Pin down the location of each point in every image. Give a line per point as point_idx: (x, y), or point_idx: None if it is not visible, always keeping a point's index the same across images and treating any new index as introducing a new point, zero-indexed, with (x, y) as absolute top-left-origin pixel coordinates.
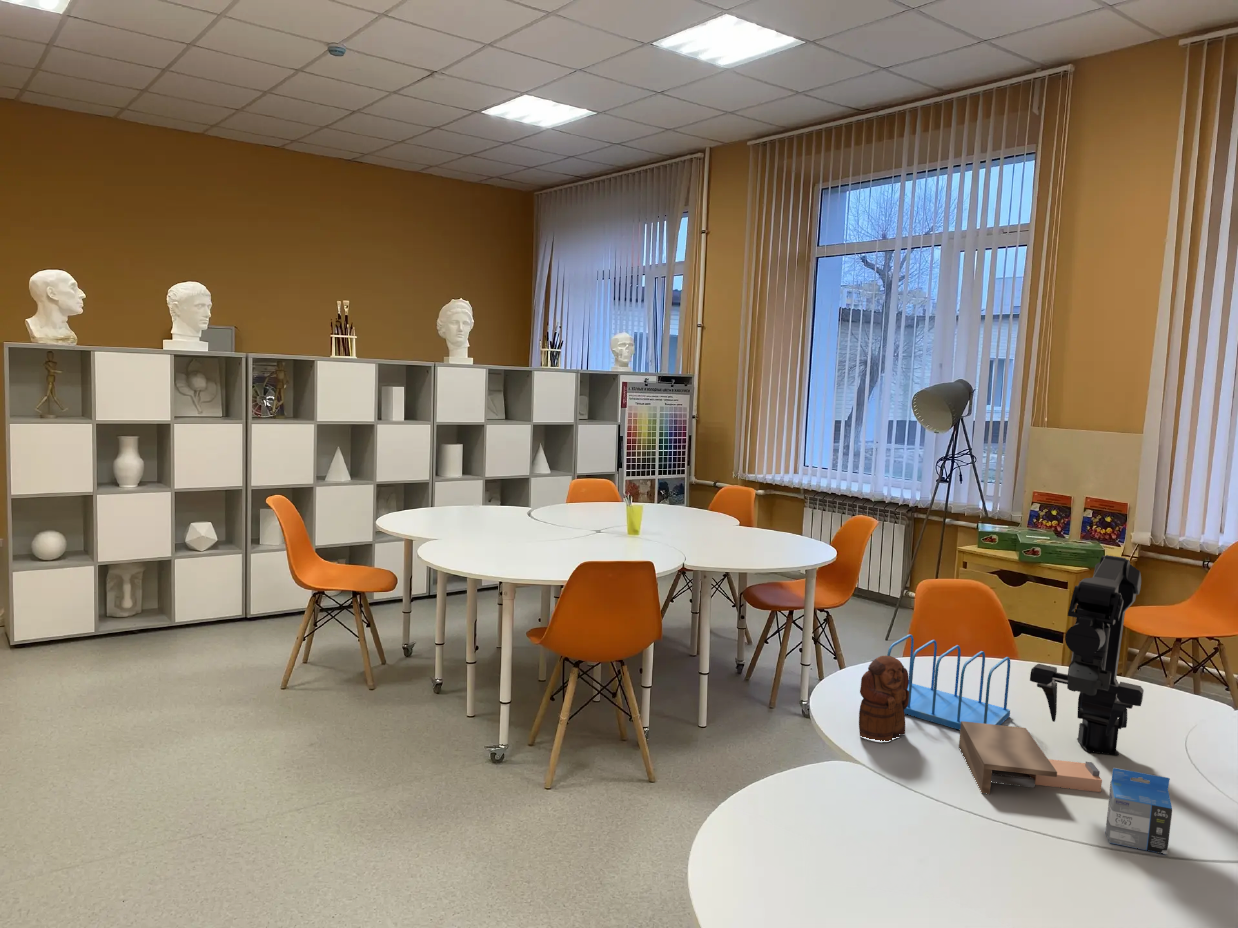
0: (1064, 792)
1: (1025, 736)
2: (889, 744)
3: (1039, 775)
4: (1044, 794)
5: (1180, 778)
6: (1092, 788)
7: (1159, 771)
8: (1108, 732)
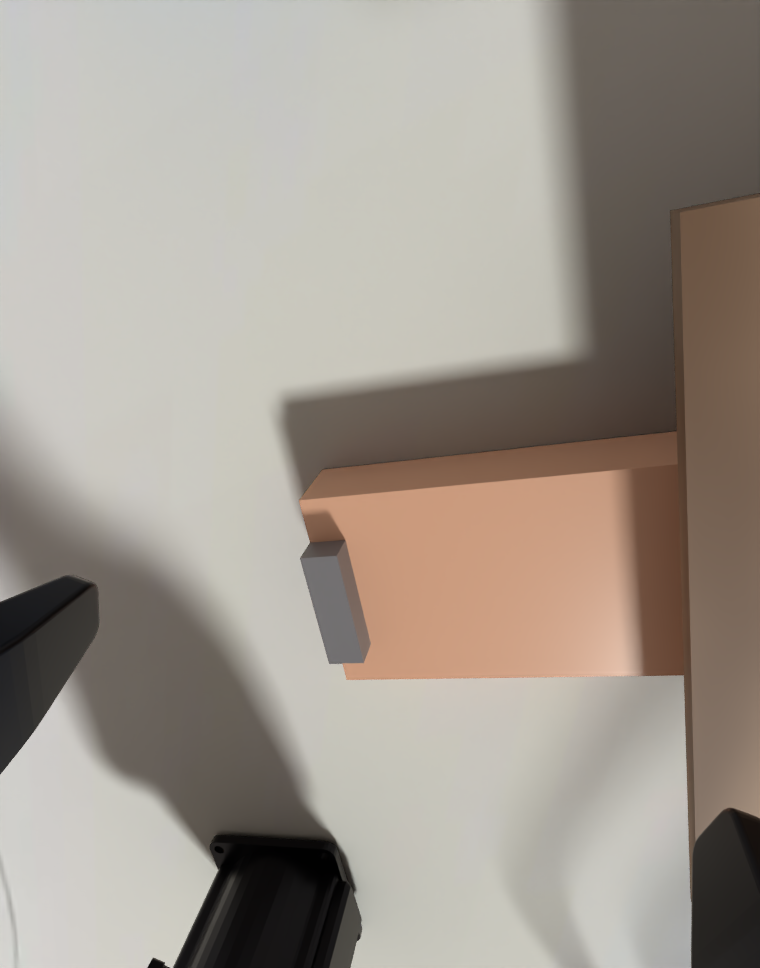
0: (527, 387)
1: None
2: None
3: None
4: None
5: None
6: (360, 471)
7: (79, 743)
8: (46, 590)
